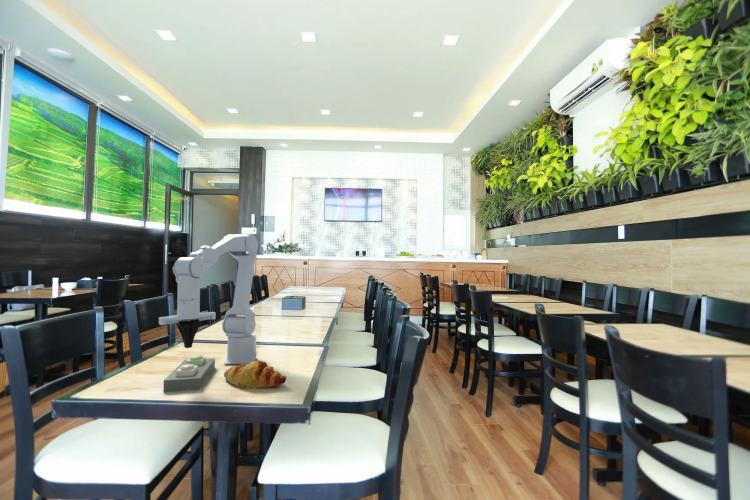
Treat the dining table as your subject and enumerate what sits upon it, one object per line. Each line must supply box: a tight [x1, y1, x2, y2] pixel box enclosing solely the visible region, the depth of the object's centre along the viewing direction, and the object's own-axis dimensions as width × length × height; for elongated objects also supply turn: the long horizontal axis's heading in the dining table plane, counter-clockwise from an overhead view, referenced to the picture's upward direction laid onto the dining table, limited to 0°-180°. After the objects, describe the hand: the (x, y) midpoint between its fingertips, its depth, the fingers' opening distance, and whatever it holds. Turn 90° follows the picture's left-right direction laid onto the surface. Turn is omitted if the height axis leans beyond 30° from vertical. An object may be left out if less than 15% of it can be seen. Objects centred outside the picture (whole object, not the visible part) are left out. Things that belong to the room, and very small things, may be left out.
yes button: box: [186, 354, 206, 366], centre depth 113 cm, size 4×4×4 cm
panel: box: [163, 357, 216, 393], centre depth 108 cm, size 9×20×3 cm, turn 13°
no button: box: [176, 364, 198, 377], centre depth 103 cm, size 4×4×4 cm
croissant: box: [223, 359, 287, 389], centre depth 105 cm, size 21×10×8 cm, turn 71°
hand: (188, 347), depth 104 cm, fingers closed
